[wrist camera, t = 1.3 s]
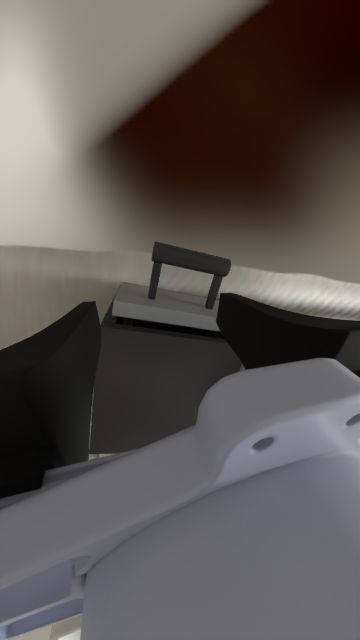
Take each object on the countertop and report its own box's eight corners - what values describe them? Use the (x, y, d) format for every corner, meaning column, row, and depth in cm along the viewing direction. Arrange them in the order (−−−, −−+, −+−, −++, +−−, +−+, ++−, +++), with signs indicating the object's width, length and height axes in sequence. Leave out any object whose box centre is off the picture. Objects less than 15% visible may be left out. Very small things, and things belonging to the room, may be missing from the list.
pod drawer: (127, 232, 17) (120, 234, 12) (237, 259, 19) (266, 269, 14) (109, 384, 23) (99, 425, 18) (193, 390, 26) (203, 428, 21)
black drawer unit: (115, 294, 20) (99, 326, 13) (220, 313, 22) (249, 346, 16) (103, 396, 25) (88, 454, 19) (191, 401, 28) (204, 453, 21)
